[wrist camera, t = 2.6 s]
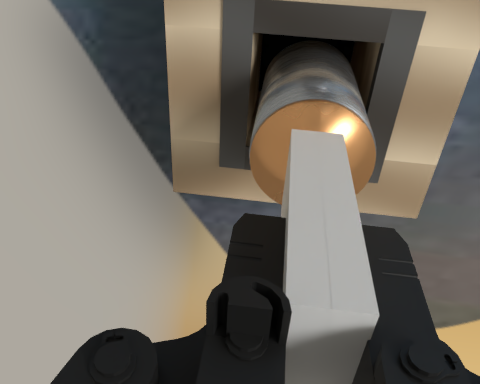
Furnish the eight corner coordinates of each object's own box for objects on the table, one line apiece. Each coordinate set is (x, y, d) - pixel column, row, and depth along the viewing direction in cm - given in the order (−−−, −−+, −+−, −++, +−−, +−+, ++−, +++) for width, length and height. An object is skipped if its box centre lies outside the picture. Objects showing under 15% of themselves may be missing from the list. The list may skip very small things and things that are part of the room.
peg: (267, 36, 18) (252, 94, 12) (362, 44, 17) (392, 107, 12) (260, 123, 20) (244, 205, 14) (344, 131, 20) (362, 218, 14)
